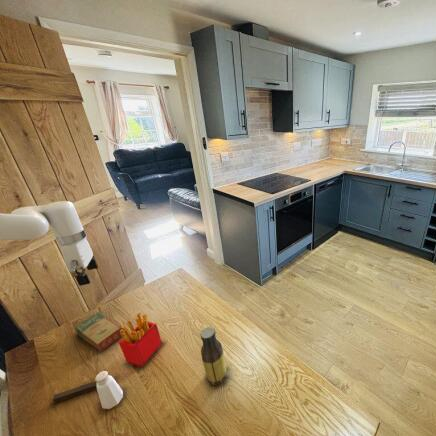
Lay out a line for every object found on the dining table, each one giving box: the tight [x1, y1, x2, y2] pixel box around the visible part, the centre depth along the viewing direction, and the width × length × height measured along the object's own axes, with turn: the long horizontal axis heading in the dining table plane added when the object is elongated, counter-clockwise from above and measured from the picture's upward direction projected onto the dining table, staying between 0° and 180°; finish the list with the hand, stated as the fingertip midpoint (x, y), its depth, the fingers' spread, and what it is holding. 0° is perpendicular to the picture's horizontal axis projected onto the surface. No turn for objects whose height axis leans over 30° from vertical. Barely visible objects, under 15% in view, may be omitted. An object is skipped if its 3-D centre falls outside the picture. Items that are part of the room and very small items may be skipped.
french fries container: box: [118, 312, 163, 368], centre depth 80 cm, size 7×9×14 cm
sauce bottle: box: [199, 326, 228, 386], centre depth 72 cm, size 6×6×20 cm
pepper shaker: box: [94, 370, 124, 410], centre depth 67 cm, size 5×5×11 cm
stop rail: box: [52, 375, 114, 404], centre depth 71 cm, size 14×2×2 cm, turn 114°
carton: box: [74, 312, 123, 353], centre depth 89 cm, size 8×16×4 cm, turn 63°
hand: (89, 276), depth 89 cm, fingers open, 9 cm apart
